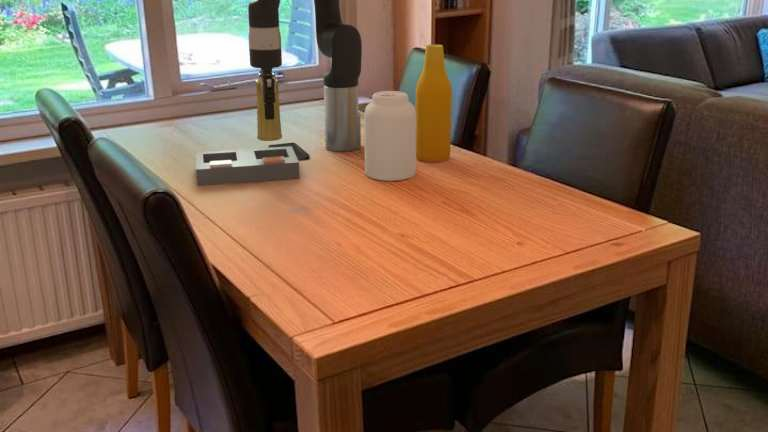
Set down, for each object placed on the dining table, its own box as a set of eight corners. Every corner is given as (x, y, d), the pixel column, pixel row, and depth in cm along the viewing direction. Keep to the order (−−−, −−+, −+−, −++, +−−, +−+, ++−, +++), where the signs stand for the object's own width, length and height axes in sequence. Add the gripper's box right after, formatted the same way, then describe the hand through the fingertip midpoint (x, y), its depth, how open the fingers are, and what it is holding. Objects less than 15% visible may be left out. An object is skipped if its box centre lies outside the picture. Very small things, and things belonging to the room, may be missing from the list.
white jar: (355, 177, 185) (353, 95, 178) (379, 164, 195) (379, 86, 188) (401, 184, 179) (402, 100, 172) (424, 170, 190) (425, 90, 183)
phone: (281, 159, 197) (267, 145, 210) (281, 163, 198) (267, 149, 211) (311, 155, 200) (295, 142, 213) (311, 160, 201) (295, 146, 214)
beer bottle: (410, 161, 198) (411, 47, 188) (420, 152, 206) (421, 42, 196) (445, 164, 195) (447, 49, 185) (453, 154, 203) (457, 43, 193)
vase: (269, 142, 185) (266, 83, 180) (251, 138, 188) (248, 80, 183) (287, 137, 189) (284, 79, 184) (269, 133, 193) (266, 77, 188)
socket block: (292, 161, 198) (291, 143, 197) (299, 178, 185) (298, 159, 183) (197, 167, 193) (195, 150, 192) (197, 185, 179) (195, 167, 178)
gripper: (284, 50, 175) (287, 122, 181) (278, 41, 188) (281, 109, 194) (251, 50, 174) (255, 124, 180) (247, 42, 187) (251, 111, 193)
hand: (268, 116), depth 187 cm, fingers closed on vase, 5 cm apart
